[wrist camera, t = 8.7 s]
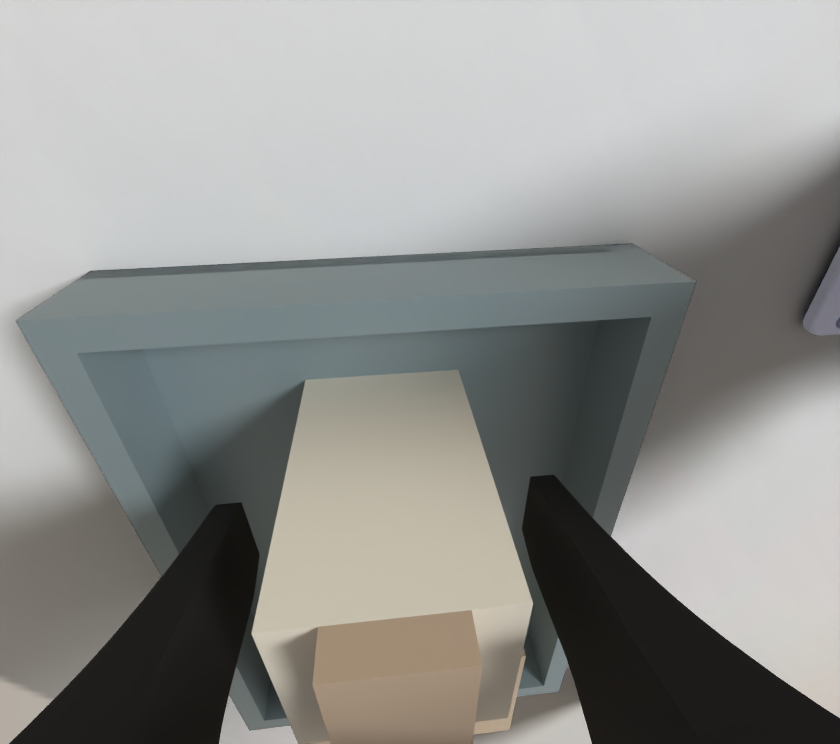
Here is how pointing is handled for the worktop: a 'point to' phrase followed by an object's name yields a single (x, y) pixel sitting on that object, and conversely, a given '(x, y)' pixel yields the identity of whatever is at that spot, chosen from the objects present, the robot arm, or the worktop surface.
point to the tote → (360, 356)
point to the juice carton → (390, 568)
